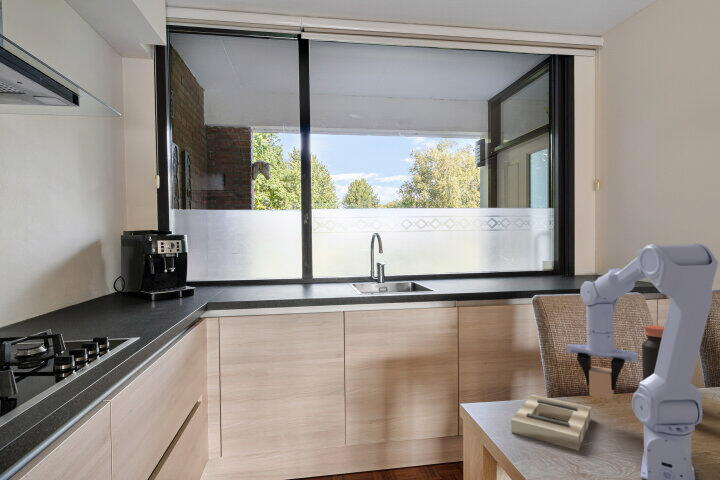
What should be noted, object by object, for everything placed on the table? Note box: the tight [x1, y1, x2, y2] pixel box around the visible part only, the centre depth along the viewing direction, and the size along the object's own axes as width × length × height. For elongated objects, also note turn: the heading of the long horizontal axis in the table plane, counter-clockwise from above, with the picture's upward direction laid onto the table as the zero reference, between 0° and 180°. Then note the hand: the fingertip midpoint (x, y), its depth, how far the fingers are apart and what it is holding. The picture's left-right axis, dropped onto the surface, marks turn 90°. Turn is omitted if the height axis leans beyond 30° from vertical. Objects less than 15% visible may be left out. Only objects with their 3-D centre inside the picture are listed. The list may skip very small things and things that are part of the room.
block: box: [588, 365, 615, 400], centre depth 97 cm, size 4×4×6 cm
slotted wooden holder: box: [510, 394, 592, 451], centre depth 96 cm, size 18×14×4 cm
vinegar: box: [641, 325, 664, 381], centre depth 109 cm, size 7×7×20 cm
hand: (601, 386), depth 97 cm, fingers closed on block, 4 cm apart
